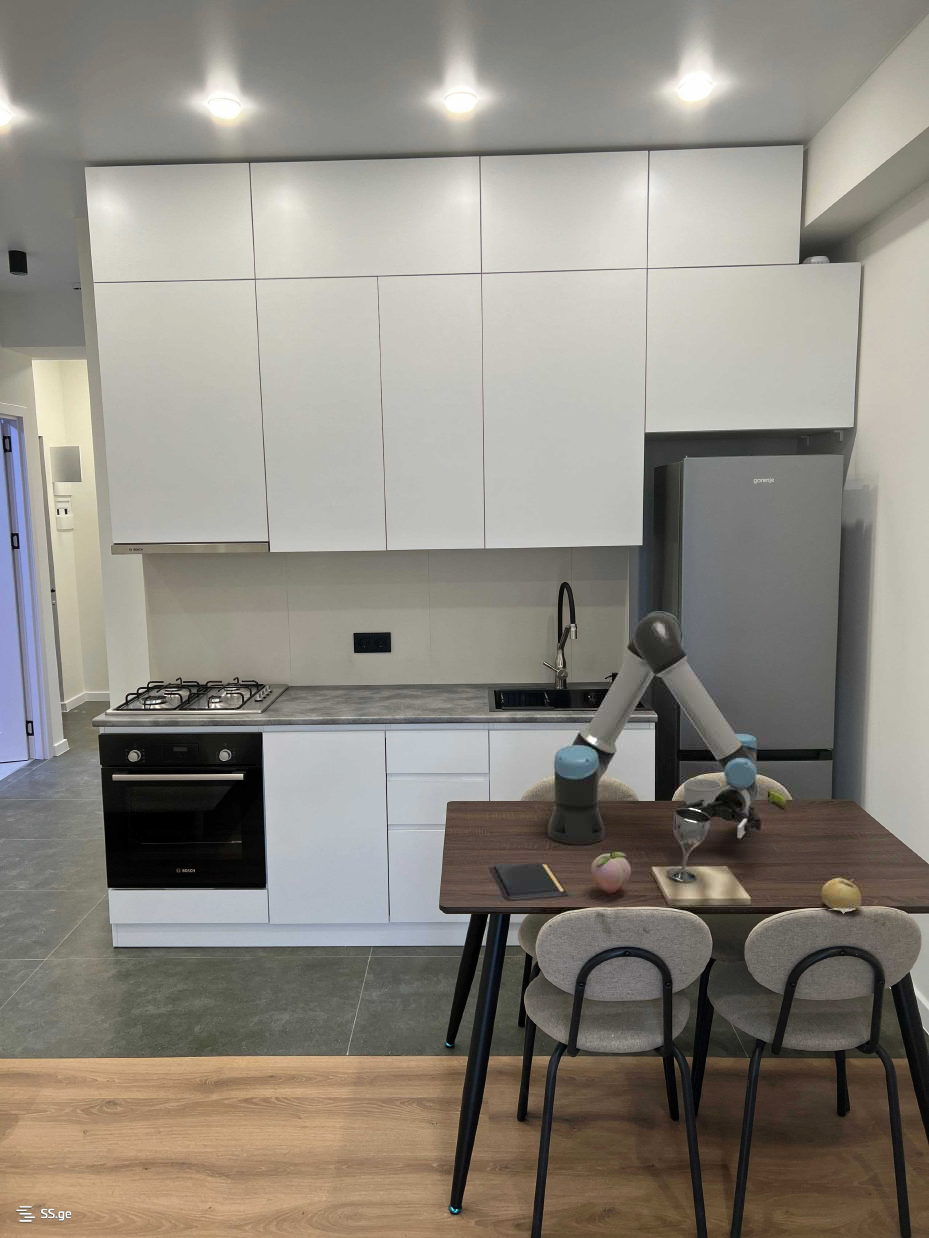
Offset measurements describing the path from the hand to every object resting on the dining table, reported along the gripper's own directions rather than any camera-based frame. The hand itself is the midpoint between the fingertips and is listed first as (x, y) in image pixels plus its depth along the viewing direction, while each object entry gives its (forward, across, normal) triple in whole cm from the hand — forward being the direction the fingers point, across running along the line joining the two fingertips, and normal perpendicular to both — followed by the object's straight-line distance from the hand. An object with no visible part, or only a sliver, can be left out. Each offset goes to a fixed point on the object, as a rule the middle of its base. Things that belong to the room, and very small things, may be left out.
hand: (709, 827), depth 207 cm
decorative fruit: (+21, +17, -12) cm, 30 cm away
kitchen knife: (-66, 0, -12) cm, 67 cm away
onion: (+4, -30, -12) cm, 32 cm away
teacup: (-48, +15, -12) cm, 52 cm away
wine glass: (+8, +4, -10) cm, 13 cm away
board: (+9, 0, -12) cm, 15 cm away
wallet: (+25, +36, -12) cm, 46 cm away
